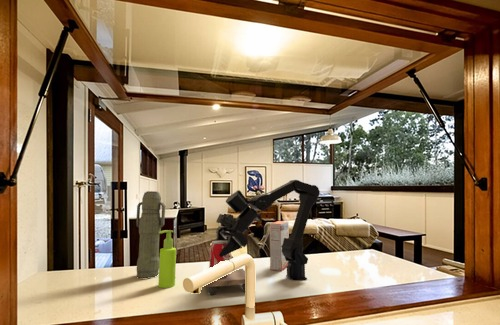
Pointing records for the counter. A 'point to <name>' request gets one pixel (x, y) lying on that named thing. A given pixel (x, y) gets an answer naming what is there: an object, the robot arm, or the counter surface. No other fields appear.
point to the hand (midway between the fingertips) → (215, 253)
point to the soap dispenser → (167, 262)
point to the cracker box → (278, 244)
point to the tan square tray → (228, 281)
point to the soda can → (217, 253)
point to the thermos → (149, 234)
